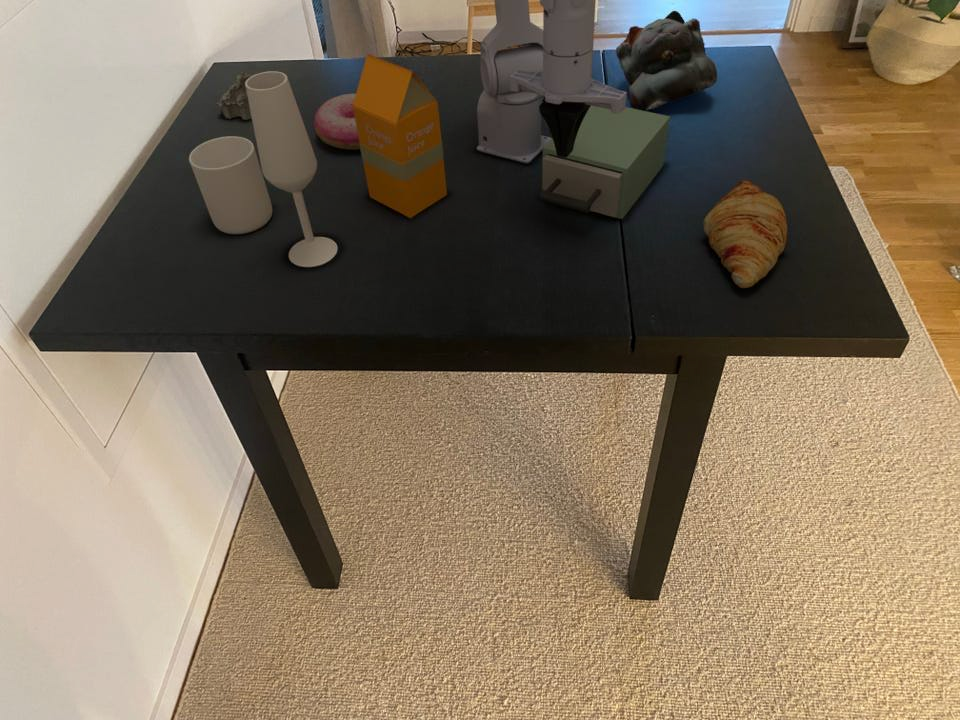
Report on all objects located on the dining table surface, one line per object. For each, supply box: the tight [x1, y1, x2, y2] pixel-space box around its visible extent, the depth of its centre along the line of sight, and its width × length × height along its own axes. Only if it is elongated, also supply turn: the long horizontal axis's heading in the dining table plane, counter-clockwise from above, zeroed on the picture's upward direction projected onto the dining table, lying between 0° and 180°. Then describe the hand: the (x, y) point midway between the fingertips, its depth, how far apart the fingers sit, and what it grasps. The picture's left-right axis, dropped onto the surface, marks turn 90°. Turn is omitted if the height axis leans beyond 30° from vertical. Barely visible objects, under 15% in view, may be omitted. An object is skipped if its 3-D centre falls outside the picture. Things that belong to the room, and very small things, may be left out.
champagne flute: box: [245, 70, 339, 268], centre depth 91 cm, size 7×7×24 cm
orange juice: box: [352, 53, 448, 219], centre depth 100 cm, size 8×9×20 cm
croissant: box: [702, 179, 788, 289], centre depth 93 cm, size 21×10×8 cm, turn 167°
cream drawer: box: [538, 155, 622, 218], centre depth 102 cm, size 19×11×6 cm, turn 149°
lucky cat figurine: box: [615, 10, 718, 112], centre depth 121 cm, size 15×12×14 cm
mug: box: [188, 135, 273, 235], centre depth 103 cm, size 9×12×11 cm
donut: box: [313, 92, 360, 151], centre depth 119 cm, size 14×13×5 cm
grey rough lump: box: [215, 70, 253, 121], centre depth 129 cm, size 11×8×4 cm
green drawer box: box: [542, 106, 671, 220], centre depth 105 cm, size 15×12×8 cm
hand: (564, 153), depth 94 cm, fingers closed
